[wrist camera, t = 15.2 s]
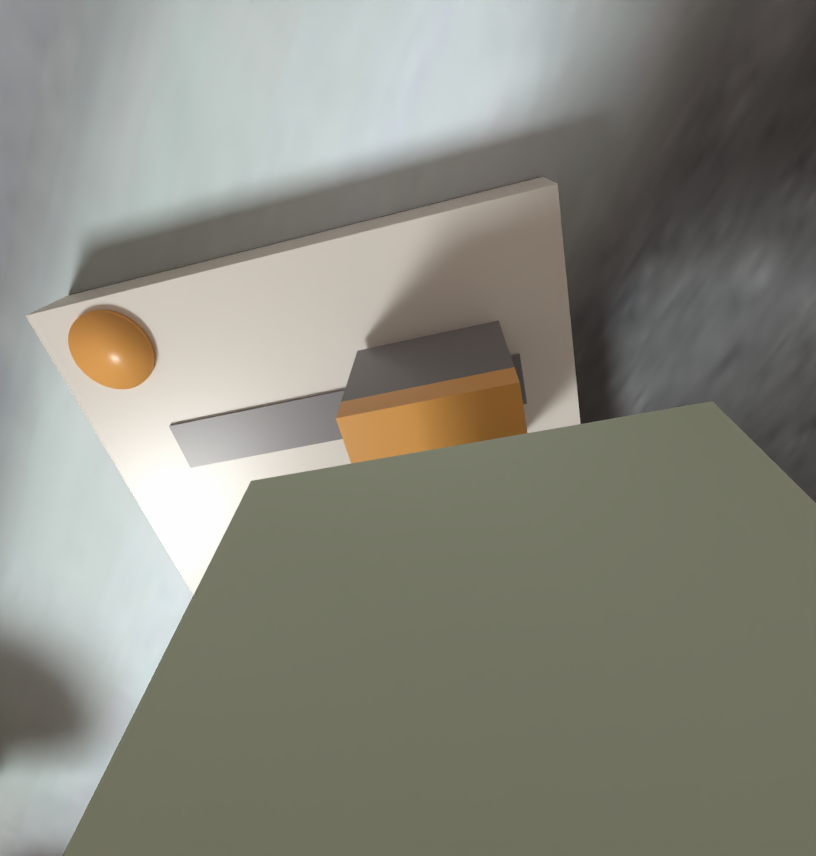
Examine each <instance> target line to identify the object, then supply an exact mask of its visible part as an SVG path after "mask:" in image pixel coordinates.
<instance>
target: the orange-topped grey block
mask: <svg viewBox="0 0 816 856" xmlns="http://www.w3.org/2000/svg"><path fill="white" fill-rule="evenodd" d="M336 421H337V424H338V427H339V429H340V432H341V435H342V438H343V441H344V444H345V447H346V450H347V453H348V456H349V458H350V461H351V463H357V462H363V461H369V460H375V459H381V458H386V457H392V456H398V455H404V454H410V453H415V452H421V451H427V450H433V449H439V448H444V447H450V446H456V445H462V444H468V443H473V442H479V441H485V440H491V439H497V438H502V437H508V436H514V435H520V434H526V433H527V427H526V421H525V414H524V407H523V401H522V394H521V387H520V382H519V379H518V376H517V373H516V370H515V367H514V364H513V361H512V358H511V355H510V352H509V350H508V347H507V344H506V341H505V338H504V335H503V332H502V329H501V326H500V323H499V320H498V321H494V322H489V323H484V324H480V325H475V326H470V327H466V328H461V329H456V330H452V331H447V332H442V333H438V334H433V335H428V336H424V337H419V338H414V339H410V340H405V341H400V342H396V343H391V344H387V345H382V346H377V347H373V348H368V349H363V350H359V351H357V354H356V357H355V360H354V363H353V366H352V369H351V372H350V375H349V379H348V382H347V385H346V388H345V391H344V394H343V397H342V400H341V404H340V407H339V410H338V413H337V416H336Z"/></svg>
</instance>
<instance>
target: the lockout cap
mask: <svg viewBox="0 0 816 856" xmlns="http://www.w3.org/2000/svg"><path fill="white" fill-rule="evenodd" d="M63 856H816V503H815V502H814V501H813V500H812V499H811V498H810V497H809V496H808V495H807V494H806V493H805V492H804V491H803V490H802V489H801V488H800V487H799V486H798V485H797V484H796V483H795V482H794V481H793V480H792V479H791V478H790V477H789V476H788V475H787V474H786V473H785V472H784V471H783V470H782V469H781V468H780V467H779V466H778V465H777V464H776V463H775V462H774V461H772V460H771V459H770V458H769V457H768V456H767V455H766V454H765V453H764V452H763V451H762V450H761V449H760V448H759V447H758V446H757V445H756V444H755V443H754V442H753V441H752V440H751V439H750V438H749V437H748V436H747V435H746V434H745V433H744V432H743V431H742V430H741V429H740V428H739V427H738V426H737V425H736V424H735V423H734V422H733V421H732V420H731V419H730V418H729V417H728V416H727V415H726V414H725V413H724V412H723V411H722V410H721V409H720V408H719V407H718V406H717V405H716V404H715V403H714V402H713V401H711V402H706V403H700V404H694V405H688V406H682V407H677V408H671V409H665V410H659V411H653V412H648V413H642V414H636V415H630V416H624V417H619V418H613V419H607V420H601V421H595V422H590V423H584V424H578V425H572V426H566V427H560V428H555V429H549V430H543V431H537V432H531V433H526V434H520V435H514V436H508V437H502V438H497V439H491V440H485V441H479V442H473V443H468V444H462V445H456V446H450V447H444V448H439V449H433V450H427V451H421V452H415V453H410V454H404V455H398V456H392V457H386V458H381V459H375V460H369V461H363V462H357V463H351V464H346V465H340V466H334V467H328V468H322V469H317V470H311V471H305V472H299V473H293V474H288V475H282V476H276V477H270V478H264V479H259V480H253V481H251V482H250V484H249V486H248V488H247V490H246V492H245V494H244V496H243V498H242V500H241V502H240V504H239V506H238V508H237V510H236V512H235V514H234V516H233V518H232V520H231V522H230V524H229V526H228V528H227V530H226V532H225V534H224V536H223V538H222V540H221V542H220V544H219V545H218V547H217V549H216V551H215V553H214V555H213V557H212V559H211V561H210V563H209V565H208V567H207V569H206V571H205V573H204V575H203V577H202V579H201V581H200V583H199V585H198V587H197V589H196V591H195V593H194V595H193V597H192V599H191V601H190V603H189V605H188V607H187V609H186V611H185V613H184V615H183V617H182V619H181V621H180V623H179V625H178V627H177V629H176V631H175V633H174V635H173V637H172V639H171V641H170V643H169V645H168V647H167V649H166V651H165V653H164V655H163V657H162V659H161V661H160V663H159V665H158V667H157V669H156V671H155V673H154V675H153V677H152V679H151V681H150V683H149V685H148V687H147V689H146V691H145V693H144V695H143V697H142V699H141V701H140V703H139V705H138V707H137V709H136V711H135V713H134V715H133V717H132V719H131V721H130V723H129V725H128V727H127V729H126V731H125V733H124V735H123V737H122V739H121V741H120V743H119V745H118V747H117V749H116V751H115V753H114V755H113V757H112V759H111V761H110V763H109V765H108V767H107V769H106V771H105V773H104V775H103V777H102V779H101V781H100V782H99V784H98V786H97V788H96V790H95V792H94V794H93V796H92V798H91V800H90V802H89V804H88V806H87V808H86V810H85V812H84V814H83V816H82V818H81V820H80V822H79V824H78V826H77V828H76V830H75V832H74V834H73V836H72V838H71V840H70V842H69V844H68V846H67V848H66V850H65V852H64V854H63Z"/></svg>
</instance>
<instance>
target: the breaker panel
mask: <svg viewBox="0 0 816 856" xmlns="http://www.w3.org/2000/svg"><path fill="white" fill-rule="evenodd" d="M26 317H27V319H28V320H29V322H30V324H31V325H32V327H33V329H34V330H35V332H36V334H37V335H38V337H39V339H40V340H41V342H42V344H43V345H44V347H45V349H46V350H47V352H48V354H49V355H50V357H51V359H52V360H53V362H54V364H55V365H56V367H57V369H58V370H59V372H60V374H61V375H62V377H63V379H64V380H65V382H66V384H67V385H68V387H69V389H70V390H71V392H72V394H73V395H74V397H75V399H76V400H77V402H78V404H79V405H80V407H81V409H82V410H83V412H84V414H85V415H86V417H87V419H88V420H89V422H90V424H91V425H92V427H93V429H94V430H95V432H96V434H97V435H98V437H99V439H100V440H101V442H102V444H103V445H104V447H105V449H106V450H107V452H108V454H109V455H110V457H111V459H112V460H113V462H114V464H115V465H116V467H117V469H118V470H119V472H120V474H121V475H122V477H123V479H124V480H125V482H126V484H127V485H128V487H129V489H130V490H131V492H132V494H133V495H134V497H135V499H136V500H137V502H138V504H139V505H140V507H141V509H142V510H143V512H144V514H145V515H146V517H147V519H148V520H149V522H150V524H151V525H152V527H153V529H154V530H155V532H156V534H157V535H158V537H159V539H160V540H161V542H162V544H163V545H164V547H165V549H166V550H167V552H168V554H169V555H170V557H171V559H172V560H173V562H174V564H175V565H176V567H177V569H178V570H179V572H180V574H181V575H182V577H183V579H184V580H185V582H186V584H187V585H188V587H189V589H190V590H191V592H192V594H193V595H194V593H195V591H196V589H197V587H198V585H199V583H200V581H201V579H202V577H203V575H204V573H205V571H206V569H207V567H208V565H209V563H210V561H211V559H212V557H213V555H214V553H215V551H216V549H217V547H218V545H219V544H220V542H221V540H222V538H223V536H224V534H225V532H226V530H227V528H228V526H229V524H230V522H231V520H232V518H233V516H234V514H235V512H236V510H237V508H238V506H239V504H240V502H241V500H242V498H243V496H244V494H245V492H246V490H247V488H248V486H249V484H250V482H251V481H253V480H259V479H264V478H270V477H276V476H282V475H288V474H293V473H299V472H305V471H311V470H317V469H322V468H328V467H334V466H340V465H346V464H351V461H350V458H349V456H348V453H347V450H346V447H345V444H344V441H343V438H342V435H341V432H340V429H339V427H338V424H337V421H336V416H337V413H338V410H339V407H340V404H341V400H342V397H343V394H344V391H345V388H346V385H347V382H348V379H349V375H350V372H351V369H352V366H353V363H354V360H355V357H356V354H357V351H359V350H363V349H368V348H373V347H377V346H382V345H387V344H391V343H396V342H400V341H405V340H410V339H414V338H419V337H424V336H428V335H433V334H438V333H442V332H447V331H452V330H456V329H461V328H466V327H470V326H475V325H480V324H484V323H489V322H494V321H498V320H499V323H500V326H501V329H502V332H503V335H504V338H505V341H506V344H507V347H508V350H509V352H510V355H511V358H512V361H513V364H514V367H515V370H516V373H517V376H518V379H519V382H520V387H521V394H522V401H523V407H524V414H525V421H526V427H527V433H531V432H537V431H543V430H549V429H555V428H560V427H566V426H572V425H578V424H580V414H579V403H578V393H577V382H576V371H575V361H574V350H573V340H572V329H571V319H570V308H569V297H568V287H567V276H566V266H565V255H564V245H563V234H562V223H561V213H560V202H559V192H558V184H557V183H555V182H553V181H551V180H549V179H547V178H545V177H539V178H536V179H532V180H528V181H524V182H520V183H516V184H512V185H508V186H504V187H500V188H496V189H492V190H488V191H484V192H480V193H476V194H472V195H468V196H464V197H460V198H456V199H452V200H448V201H444V202H440V203H436V204H432V205H428V206H424V207H420V208H416V209H412V210H408V211H404V212H400V213H396V214H392V215H388V216H384V217H380V218H376V219H372V220H368V221H364V222H360V223H356V224H352V225H348V226H344V227H340V228H336V229H332V230H328V231H324V232H320V233H316V234H312V235H308V236H304V237H300V238H296V239H292V240H288V241H284V242H280V243H276V244H272V245H268V246H264V247H260V248H256V249H252V250H248V251H244V252H240V253H236V254H232V255H228V256H224V257H220V258H216V259H212V260H208V261H205V262H201V263H197V264H193V265H189V266H185V267H181V268H177V269H173V270H169V271H165V272H161V273H157V274H153V275H149V276H145V277H141V278H137V279H133V280H129V281H125V282H121V283H117V284H113V285H109V286H105V287H101V288H97V289H93V290H89V291H85V292H81V293H77V294H73V295H69V296H66V297H64V298H62V299H60V300H58V301H55V302H53V303H51V304H49V305H47V306H45V307H43V308H41V309H39V310H37V311H34V312H32V313H30V314H28V315H26Z"/></svg>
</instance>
